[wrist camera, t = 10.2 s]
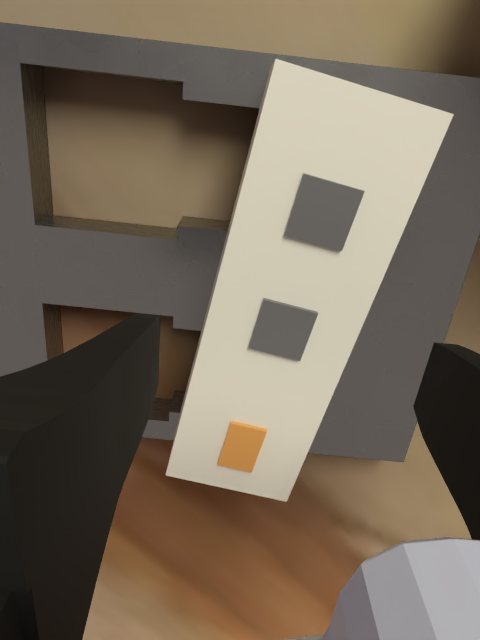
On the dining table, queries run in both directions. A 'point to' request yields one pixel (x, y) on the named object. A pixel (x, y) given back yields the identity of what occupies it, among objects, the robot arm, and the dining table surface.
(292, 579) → the dining table surface
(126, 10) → the dining table surface
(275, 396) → the power strip
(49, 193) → the keyhole plate
